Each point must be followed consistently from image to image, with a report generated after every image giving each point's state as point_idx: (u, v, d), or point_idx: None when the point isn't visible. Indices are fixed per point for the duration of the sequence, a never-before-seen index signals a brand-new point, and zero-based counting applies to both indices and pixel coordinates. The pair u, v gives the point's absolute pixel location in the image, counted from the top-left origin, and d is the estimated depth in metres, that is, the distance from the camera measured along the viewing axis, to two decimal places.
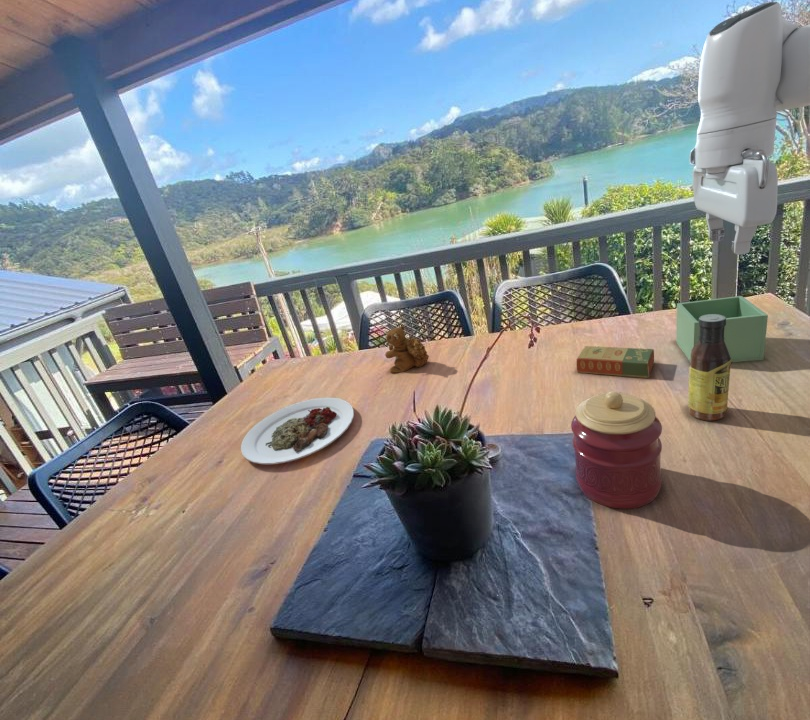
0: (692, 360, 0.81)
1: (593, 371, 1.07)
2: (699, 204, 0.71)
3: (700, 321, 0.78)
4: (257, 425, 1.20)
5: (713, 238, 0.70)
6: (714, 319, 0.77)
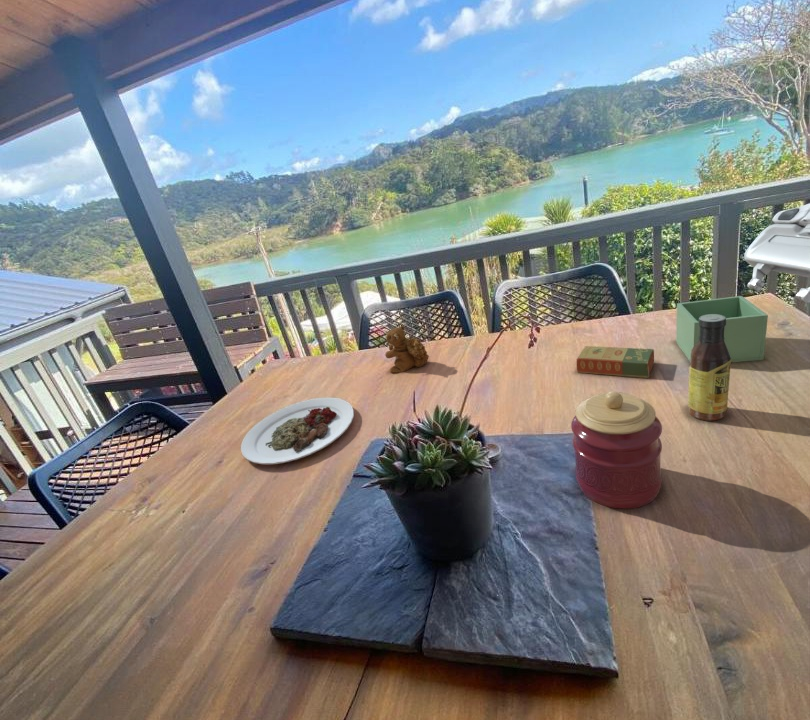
0: (692, 360, 0.81)
1: (593, 371, 1.07)
2: (756, 255, 0.82)
3: (700, 321, 0.78)
4: (257, 425, 1.20)
5: (755, 285, 0.80)
6: (714, 319, 0.77)
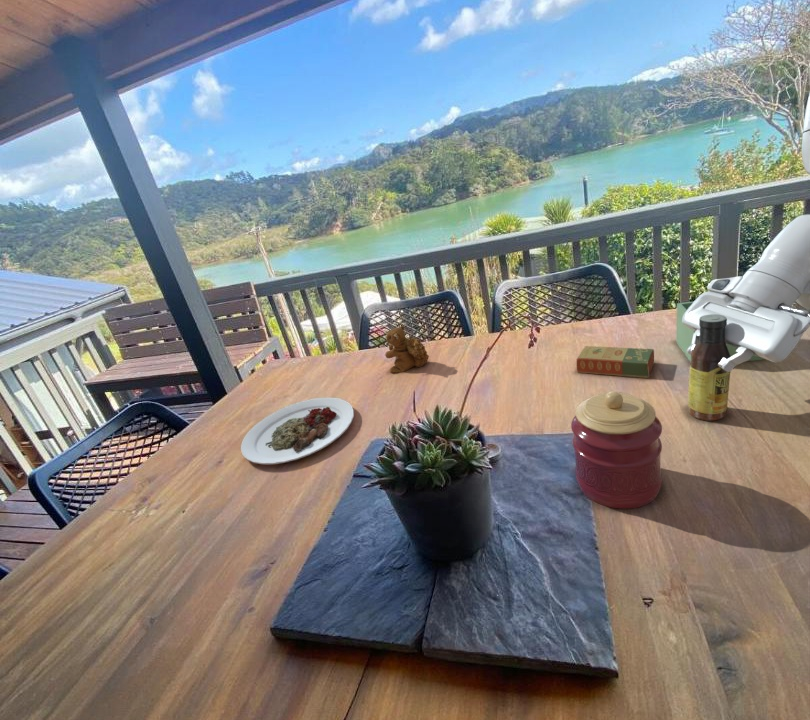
0: (692, 360, 0.81)
1: (593, 371, 1.07)
2: (691, 320, 0.85)
3: (701, 321, 0.78)
4: (257, 425, 1.20)
5: None
6: (715, 319, 0.76)
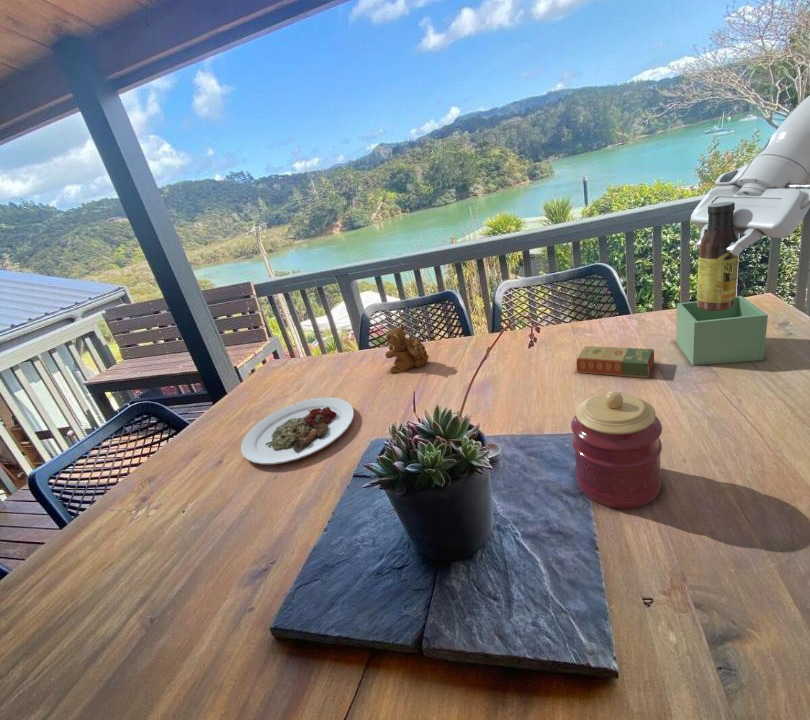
0: (701, 250, 0.83)
1: (593, 371, 1.07)
2: (700, 216, 0.87)
3: (709, 208, 0.80)
4: (257, 425, 1.20)
5: None
6: (723, 204, 0.78)
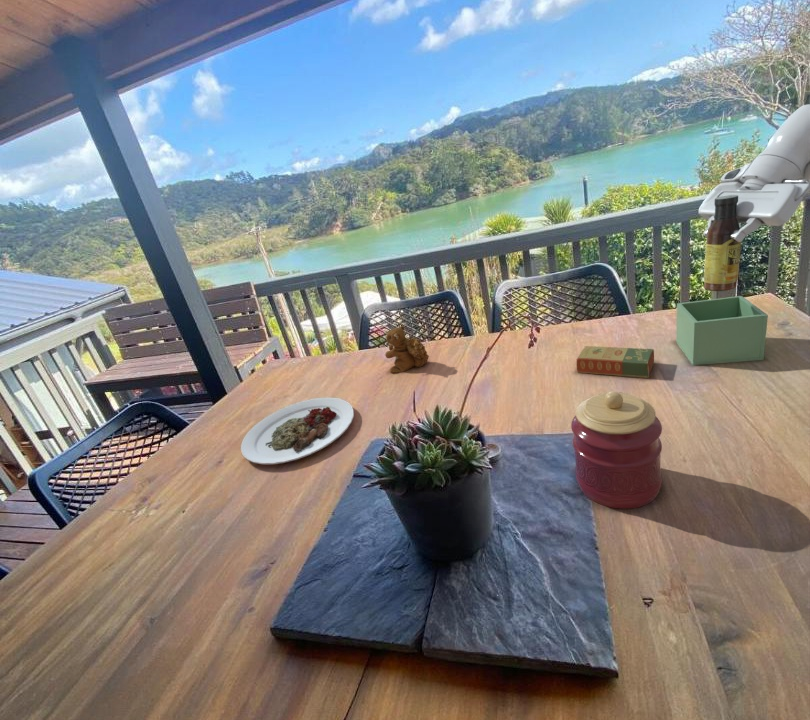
0: (708, 237, 0.95)
1: (593, 371, 1.07)
2: (707, 208, 0.99)
3: (716, 200, 0.92)
4: (257, 425, 1.20)
5: None
6: (728, 197, 0.90)
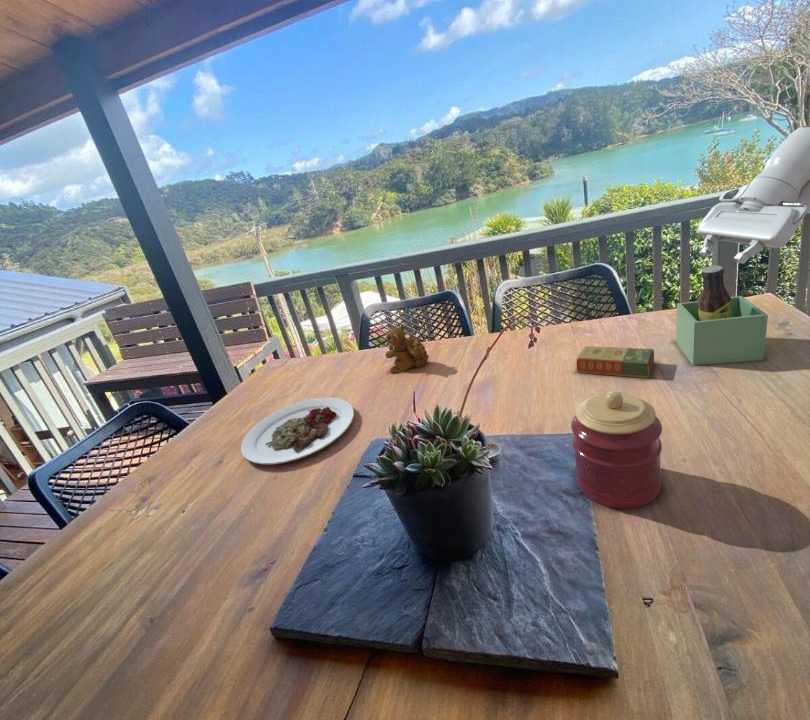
0: (700, 304, 1.00)
1: (593, 371, 1.07)
2: (706, 228, 1.00)
3: (702, 273, 0.97)
4: (257, 425, 1.20)
5: (705, 252, 0.99)
6: (713, 270, 0.96)
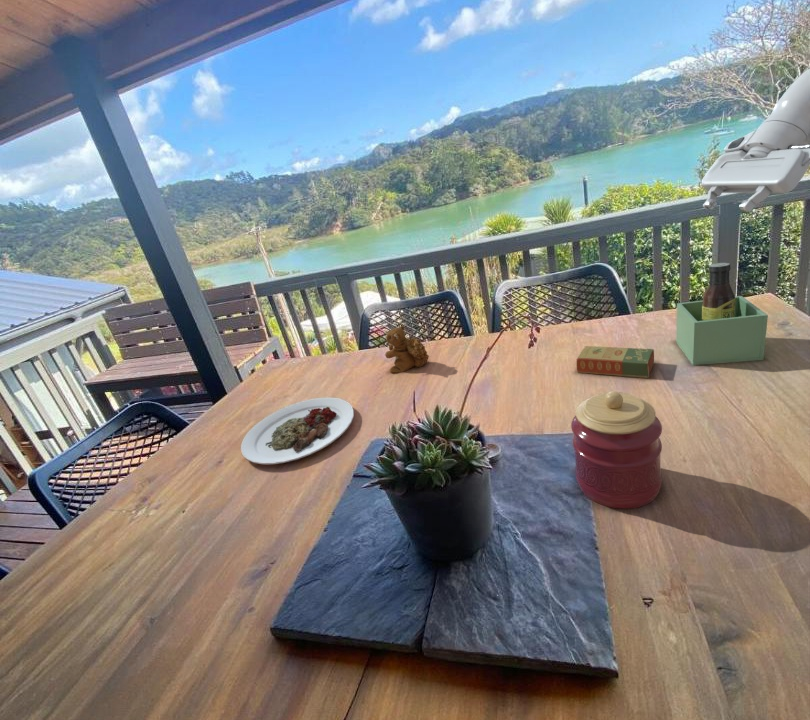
0: (704, 300, 1.01)
1: (593, 371, 1.07)
2: (710, 180, 0.97)
3: (710, 267, 0.99)
4: (257, 425, 1.20)
5: (709, 204, 0.95)
6: (721, 265, 0.97)
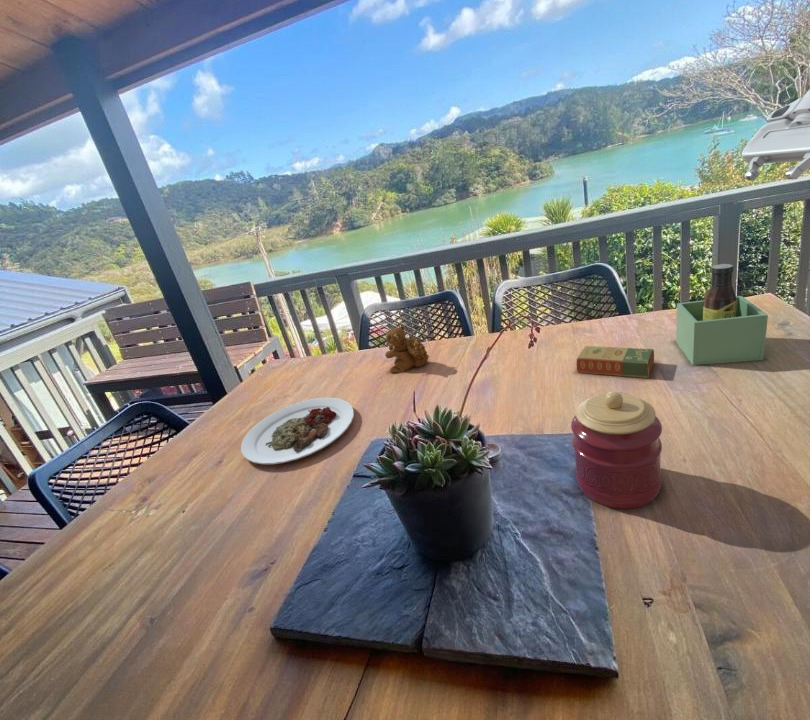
0: (705, 302, 1.01)
1: (593, 371, 1.07)
2: (752, 150, 0.95)
3: (712, 269, 0.98)
4: (257, 425, 1.20)
5: (751, 174, 0.93)
6: (724, 267, 0.97)
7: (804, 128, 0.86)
